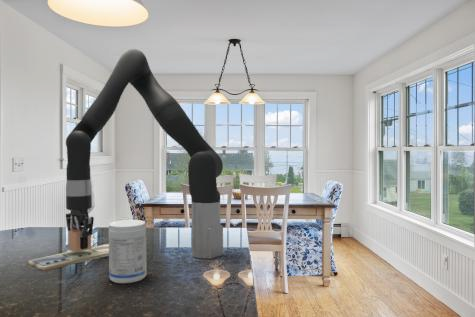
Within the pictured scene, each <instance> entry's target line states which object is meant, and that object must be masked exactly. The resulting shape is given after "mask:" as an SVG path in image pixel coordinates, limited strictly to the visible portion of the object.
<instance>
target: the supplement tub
mask: <svg viewBox="0 0 475 317" xmlns="http://www.w3.org/2000/svg"><path fill="white" fill-rule="evenodd" d="M146 225H147V224H146V221H145V220H140V219H124V220H117V221H113V222H110V223H109V224H108V244H109V256H108V273H109V279H110V281H111V282H113V283H116V284H132V283H136V282H139V281H142V280H143V279H145V277H146V276H147V226H146Z"/></svg>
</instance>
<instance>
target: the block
mask: <svg viewBox="0 0 475 317" xmlns="http://www.w3.org/2000/svg"><path fill="white" fill-rule="evenodd" d="M88 231H89V229H88ZM82 232H83V230H82ZM91 237H92V235H89V236H88V248H86V249H81V248H80V232H79V230H77V229H76V230H70V231H68V230H67V240H68V241H67V244H68V246H67V247H68V248H67V249H68V250H69V251H74V252H79V251H84V250H88V249H91V247H92V241H91Z"/></svg>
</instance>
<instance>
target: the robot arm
mask: <svg viewBox="0 0 475 317" xmlns="http://www.w3.org/2000/svg"><path fill="white" fill-rule="evenodd" d="M147 59H148V58H147V57H146V55H145V54H144V52H143V51H142V50H140V49H138V48H128V49H126V50H125V51H124V52H122V54H121V55H120V56H119V58H118V61H117V62H116V64H115V66H114V68H113V70H112V72H111V74H110V76H109V77H108V79H107V80H106V82H105V84H104V86H103V87H102V89H101V91H100V92H99V94H98V95H97V97H96V98H95V99H94V101H93V102H92V103H91V105H90V106H89V108H88V109H87V110H86V112H85V113H84V115H82V118H81V119H80V121H78V123H77V125H75V127H73V129H72V131H71V132H70V133H69V134H68V135H67V137H66V140H65V146H66V154H67V155H66V156H67V164H66V184H65V199H66V200H65V206H66V210H68V211H70V213H65V218H66V226H67V227H66V228H67V232H68V231H70V230H76V229H77V230H79V232H80V248H81V249H86V248H88V236H89V235H91V236H92V235H93V230H94V229H93V226H94V216H90V215H89V214H88V209H90V208H91V207H92V189H91V180H90V177H91V163H90V162H91V153H92V152H91V150H92V146H91V145H92V144H91V143H92V142H93V140H94V139H95V138H96V136H97V135H98V133H99V132H100V131H102V129H103V128H104V127H105V126H106V125H107V123H108V122H109V121H110V119H111V118H112V116H113V114H114V113H115V111H116V109H117V107H118V104H119V102H120V99H121V97H122V95H123V92H124V91H125V89H126V88H127V86H128V85H129V84H130V85H131V86H132V87H133V88H134V89H135V90H136V91H137V93H138V94H140V97H142V99H143V100H144V102H145V103H146V104H145V105H146V106H147V108H148V109H149V112H150V113H151V114H152V116H153V117H154V119H155V120H156V122H157V123H158V124H159V126H160V128H161V129H162V130H163V131H164V132H165V133H166V135H168V136H169V137H170V138H171V139H172V140H173V141H175V142H176V143H177V144H178V145H179V146H181V147H182V148H183V149H184V151H186V153H187V154H188V156H189V157H190V159H189V162H188V167H187V168H188V169H187V174H188V190H189V194H190V198H191V255H192V257H193V258H198V259H208V260H209V259H210V260H211V259H214V258H217V257H220V256H223V255H224V227H223V226H224V225H222V224H221V193H220V191H219V190H218V187H217V178H218V177H219V176H221V174H222V173H223V170H224V169H223V168H224V163H223V161H222V158H221V157H220V155H219V154H218V153H217V152H216V151H215V150H214V149H213V147H212V146H211V145H209V143H208V142H207V141H206V140H205V139H204V138H203V136H202V135H201V133H200V132H199V131H198V129H197V127H196V126H195V125H194V123H193V122H192V120H191V119H190V118H189V116H188V115H187V114H186V112H185V110H184V109H183V107H182V106H181V105H180V104H179V102H178V101H177V100H176V98H175V97H173V96H172V95H171V94H170V93H169V92H167V91H166V90H165V89H164V88H163V87H162V86H161V85H160V84H159V82H158V80H157V79H156V77H155V75H154V73H153V72H152V70H151V68H150V65H149V62H148V60H147ZM82 230H83V232H82ZM88 230H89V231H88Z"/></svg>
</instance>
